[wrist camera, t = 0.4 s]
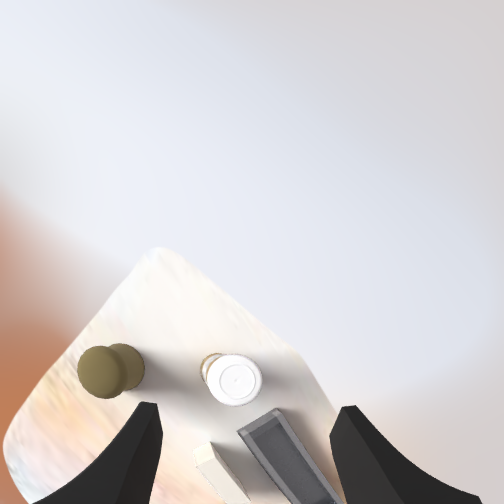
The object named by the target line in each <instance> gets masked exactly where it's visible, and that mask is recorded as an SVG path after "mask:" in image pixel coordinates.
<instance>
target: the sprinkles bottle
mask: <svg viewBox="0 0 504 504" xmlns="http://www.w3.org/2000/svg"><path fill="white" fill-rule="evenodd" d="M200 373H201V376H202V379H203V380H204V381H205V382H206V384H207V385H208V387H209V389H210V391H211V393H212V394H213V396H214V397H215V398H216V399H217V400H219V401H220V402H222V403H223V404H226V405H229V406H243V405H246V404H248V403H250V402H251V401H253V400H254V399H255V398H256V397H257V395H258V394H259V392H260V390H261V388H262V382H263V378H262V373H261V370H260V368H259V367H258V365H257V364H256V363H255V362H254V361H253V360H252V359H250V358H248V357H246V356H243V355H238V354H228V355H227V354H220V353H215V354H211V355H209V356H207V357H206V358H205V359H204V360H203V362H202V364H201V367H200Z"/></svg>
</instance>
